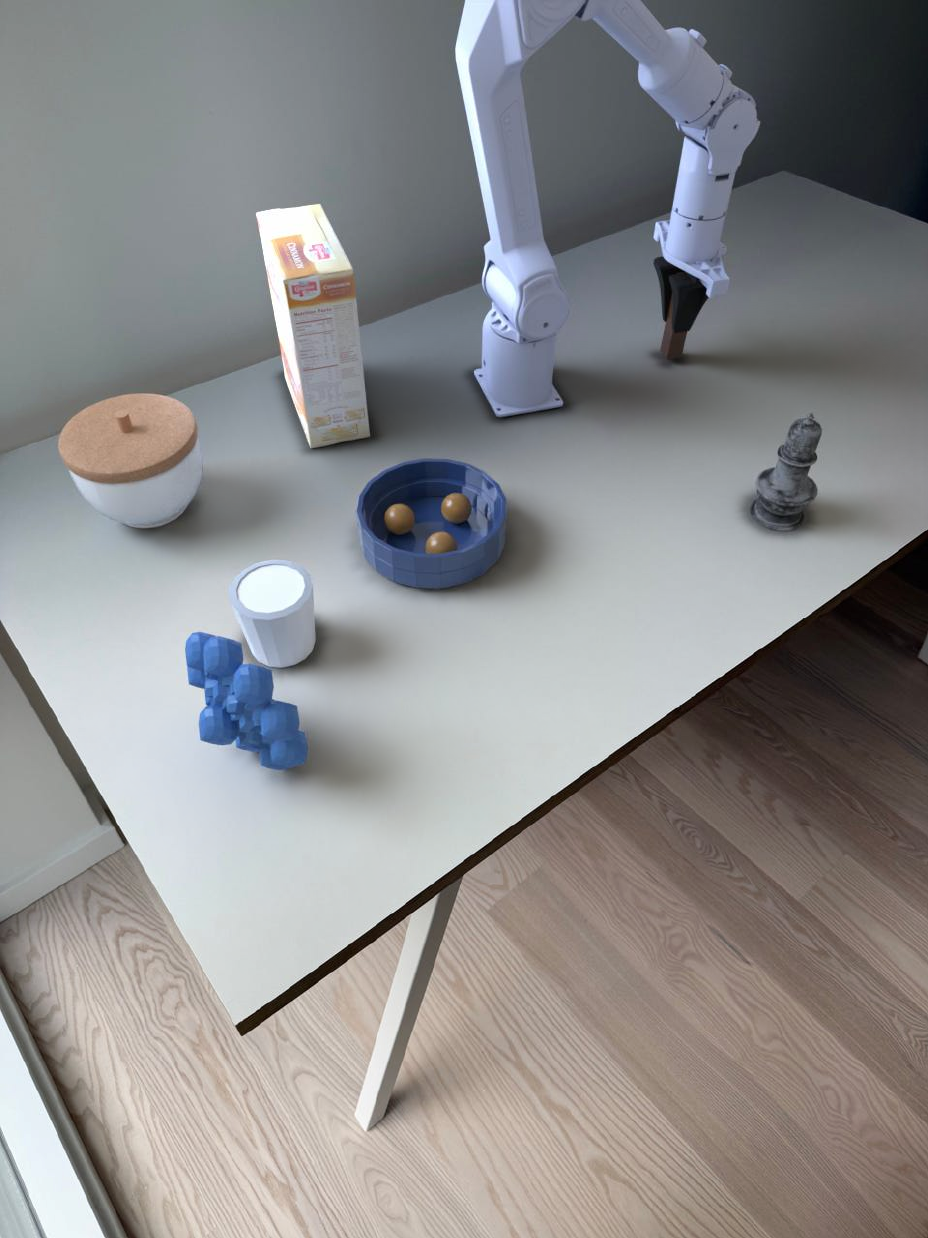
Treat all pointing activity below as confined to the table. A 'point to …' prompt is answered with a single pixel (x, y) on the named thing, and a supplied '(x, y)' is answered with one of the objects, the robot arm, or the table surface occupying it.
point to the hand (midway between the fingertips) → (676, 325)
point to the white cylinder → (275, 611)
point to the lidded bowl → (135, 458)
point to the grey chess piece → (788, 479)
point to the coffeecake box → (316, 322)
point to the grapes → (242, 703)
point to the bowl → (432, 523)
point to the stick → (672, 337)
